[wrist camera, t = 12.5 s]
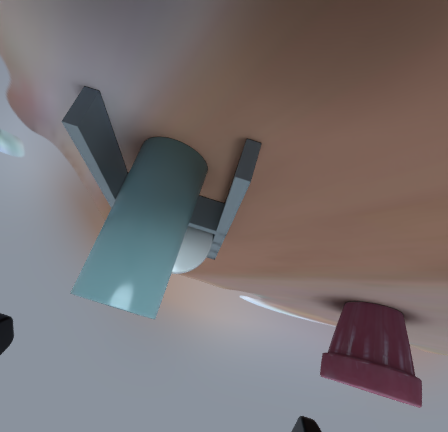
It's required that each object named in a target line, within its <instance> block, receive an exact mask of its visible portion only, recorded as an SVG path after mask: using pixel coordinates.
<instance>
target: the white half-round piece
mask: <svg viewBox="0 0 448 432" xmlns="http://www.w3.org/2000/svg"><path fill="white" fill-rule="evenodd" d="M212 240H213V234H212V233H209V232H206V231H203V230H199V229H196V228H193V227H190V226H188V228H187V231H186V233H185V236H184V239H183V242H182V245H181V248H180V250H179V253H178V256H177V259H176V262H175V264H174V267H173V270H172V273H173V274H180V273H185V272H189V271H191V270H193V269H195V268H196V267H198V266H199V265H200V264H201V263H202V262H203V261H204V260H205V259H206V257H207V255H208V254H209V251H210V248H211V245H212Z"/></svg>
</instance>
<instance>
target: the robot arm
mask: <svg viewBox="0 0 448 432" xmlns="http://www.w3.org/2000/svg"><path fill="white" fill-rule="evenodd" d="M13 338H14V331H13V319H12V318H11V317H10V316H7V315H4V314H1V313H0V355H1V354H2V353H3V352H4V351H5V350H6V349H7V348H8V347H9V345H10V344H11V342H12V340H13ZM292 432H321V430H320V428H319V427H318V425H317V423H316V422H315V421H314V420H313V419H310V418H307V417H304V416H300V417H299V418H298V420H297V422H296V424H295V426H294V428H293V430H292Z"/></svg>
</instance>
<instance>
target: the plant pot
mask: <svg viewBox="0 0 448 432" xmlns="http://www.w3.org/2000/svg"><path fill="white" fill-rule="evenodd" d="M320 375H321V377H324V378H328V379H331V380H334V381H338V382H341V383H343V384H347V385H350V386H353V387H356V388H359V389H362V390H365V391H368V392H371V393H374V394H377V395H380V396H384V397H387V398H390V399H393V400H396V401H399V402H403V403H406V404H409V405H413V406H416V407H419V408H420V407H421V406H422V381H421V380H420V379H419V378H417V377H415V372H414V366H413V361H412V356H411V350H410V345H409V340H408V335H407V330H406V326H405V321H404V315H403V314H402V313H401V312H399V311H398V310H395V309H393V308H390V307H386V306H383V305H378V304H373V303H367V302H347V303H345V305H344V307H343V310H342V313H341V316H340V318H339V321H338V324H337V326H336V330H335V332H334V335H333V338H332V341H331V344H330V347H329V351H328V353H323V356H322V362H321V372H320Z"/></svg>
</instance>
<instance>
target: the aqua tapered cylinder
mask: <svg viewBox="0 0 448 432" xmlns="http://www.w3.org/2000/svg"><path fill="white" fill-rule="evenodd" d="M207 171H208V167H207V164H206V162H205V160H204V159H203V157H202V156H201V155H200V154H199V153H198V152H196V151H195V150H194V149H192V148H191V147H189V146H188V145H186V144H184V143H182V142H179V141H177V140H174V139H170V138H165V137H153V138H149V139H147V140H146V141H145V142H144V143H143V145H142V147H141V149H140V151H139V153H138V155H137V157H136V159H135V161H134V163H133V165H132V167H131V170H130V172H129V174H128V176H127V178H126V180H125V182H124V184H123V186H122V188H121V190H120V192H119V194H118V196H117V198H116V200H115V202H114V204H113V207H112V209H111V211H110V213H109V215H108V217H107V219H106V221H105V223H104V225H103V227H102V229H101V231H100V234H99V235H98V237H97V239H96V242H95V244H94V246H93V248H92V250H91V252H90V254H89V256H88V258H87V260H86V262H85V264H84V266H83V268H82V270H81V272H80V275H79V277H78V279H77V281H76V283H75V285H74V287H73V289H72V291H71V294H74V295H77V296H80V297H83V298H86V299H89V300H92V301H95V302H99V303H101V304H105V305H108V306H111V307H114V308H118V309H121V310H124V311H127V312H131V313H134V314H137V315H141V316H144V317H148V318H151V319H155V318H156V315H157V312H158V309H159V307H160V304H161V301H162V298H163V295H164V292H165V290H166V287H167V284H168V281H169V278H170V276H171V273H172V270H173V267H174V264H175V262H176V259H177V256H178V253H179V250H180V248H181V245H182V242H183V239H184V236H185V233H186V231H187V228H188V225H189V222H190V219H191V217H192V214H193V211H194V208H195V205H196V203H197V200H198V197H199V194H200V191H201V188H202V186H203V183H204V180H205V177H206V174H207Z"/></svg>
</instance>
